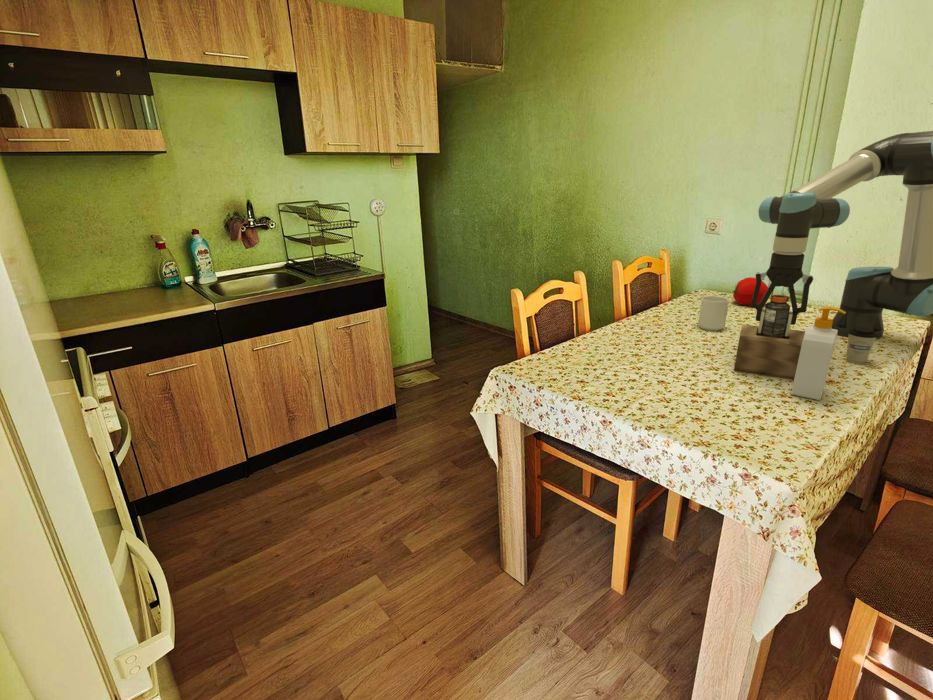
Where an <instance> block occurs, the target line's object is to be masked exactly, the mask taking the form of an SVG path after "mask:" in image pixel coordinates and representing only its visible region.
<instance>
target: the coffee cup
mask: <svg viewBox="0 0 933 700" xmlns="http://www.w3.org/2000/svg"><path fill="white" fill-rule="evenodd" d="M848 333H849V336H848V337H847V349H846V358H845V360H846V361H847V362H850V363H852V362H853V363H852V364H857V363H863V364H866V363H867V360H868V358H869V355H870V353H871V350H872V348H873V346H874V344H875V341H876V340H877V339H876V337H878V336H877V333H875V332H874V330H873V329H870V328H865V327H854V328H853V329H851V330H849V331H848Z"/></svg>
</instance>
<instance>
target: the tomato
mask: <svg viewBox="0 0 933 700" xmlns="http://www.w3.org/2000/svg"><path fill="white" fill-rule="evenodd" d="M734 286H735V288H734V290H733V291H732V293H733V295H732V299H734V301H735V302H737V303H738V304H740V305H742V306H750V307H751V302H752V298H753V294H754V290H755V286H756V277H752V276H751V277H745V278H743V279H741V280H738V282H737V284H735V285H734ZM768 288H769V286H768V285H767V284H766V283H765V282H764V280H762V281H761V286H760V290H759V294H758V298H757V302H756V303H757V304H759V303H760V302H761V300H762V298H763V296H764V295H765V293H766V291H767V289H768Z"/></svg>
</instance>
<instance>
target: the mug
mask: <svg viewBox="0 0 933 700" xmlns="http://www.w3.org/2000/svg"><path fill="white" fill-rule="evenodd" d="M729 303H730V300H729V298H727V297H724V296H718V295H706V296H702V297H701V301H700V308H699V315H698V316H699V317H698V323H697V325H698V326H699V327H700V328H701V329H702V330H705V331H711V332H712V331H713V332H719V331H721V330H722V329H724V328H725V326H726V321H727V320H726V319H727V315H728V308H729Z"/></svg>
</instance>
